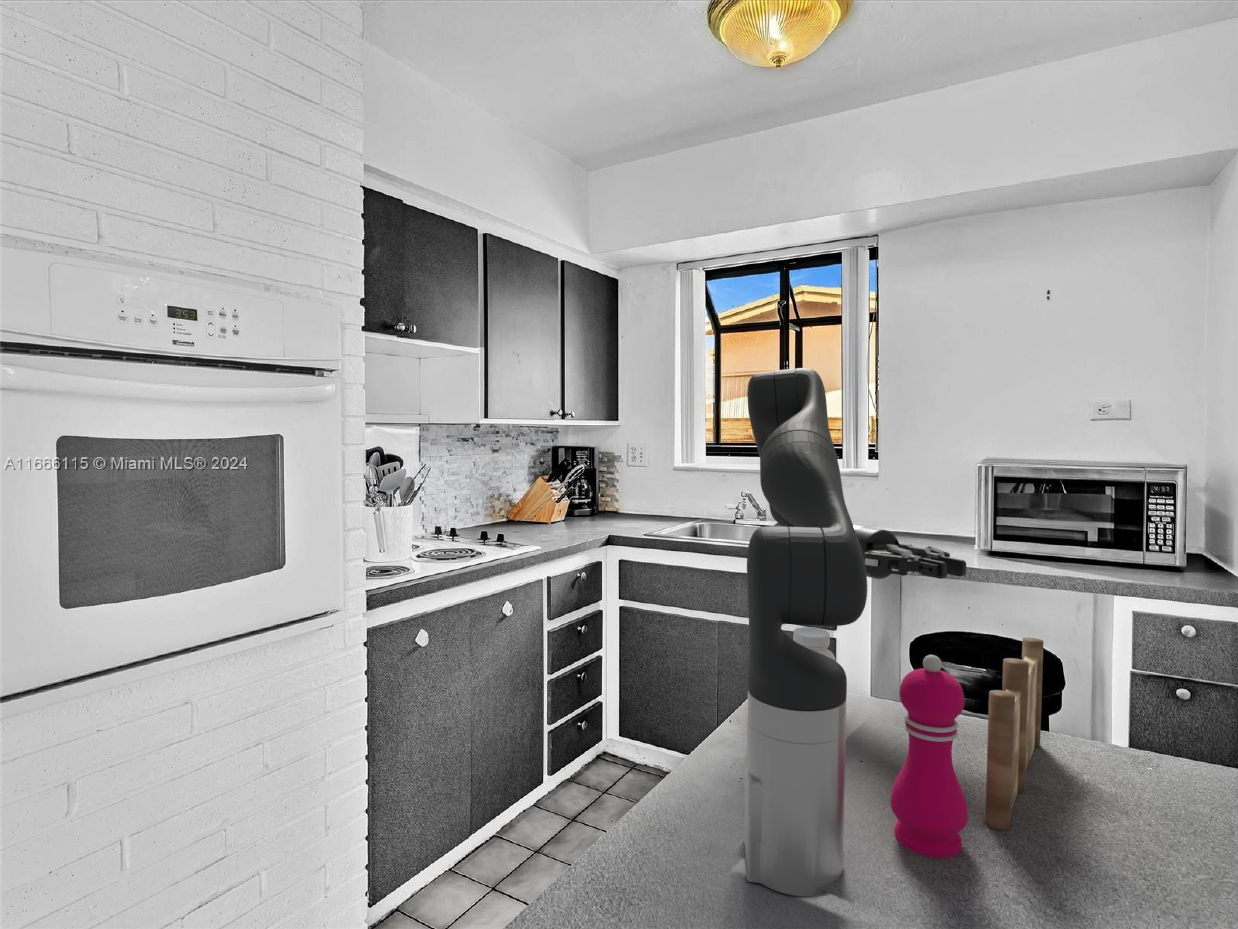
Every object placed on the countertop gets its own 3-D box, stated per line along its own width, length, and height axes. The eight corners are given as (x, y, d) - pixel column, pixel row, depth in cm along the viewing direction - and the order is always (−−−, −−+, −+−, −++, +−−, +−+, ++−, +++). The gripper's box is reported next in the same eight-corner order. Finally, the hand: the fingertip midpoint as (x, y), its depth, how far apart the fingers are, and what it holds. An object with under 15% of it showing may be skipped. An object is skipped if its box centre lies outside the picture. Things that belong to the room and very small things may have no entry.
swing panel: (1025, 785, 83) (1029, 668, 83) (1002, 779, 85) (1006, 664, 84) (1041, 743, 95) (1044, 639, 94) (1020, 738, 96) (1023, 636, 96)
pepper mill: (975, 875, 68) (982, 669, 67) (896, 865, 70) (901, 664, 69) (956, 833, 75) (961, 647, 74) (884, 825, 77) (888, 642, 76)
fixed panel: (1001, 781, 85) (1005, 656, 84) (1026, 787, 83) (1030, 661, 82) (982, 825, 75) (986, 685, 74) (1009, 833, 73) (1014, 691, 73)
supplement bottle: (811, 730, 101) (813, 641, 100) (774, 713, 107) (776, 629, 106) (844, 719, 105) (846, 633, 104) (807, 704, 111) (809, 622, 110)
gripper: (826, 528, 108) (917, 545, 92) (894, 524, 114) (991, 539, 98) (825, 577, 108) (916, 602, 93) (893, 570, 114) (989, 592, 99)
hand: (954, 569), depth 95 cm, fingers open, 3 cm apart
